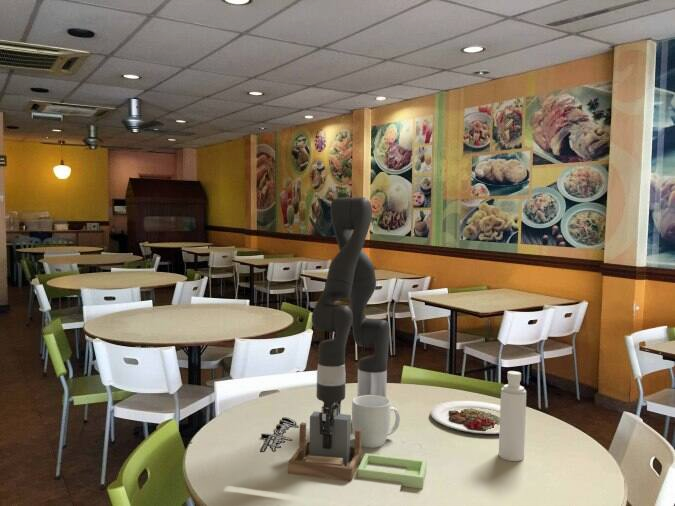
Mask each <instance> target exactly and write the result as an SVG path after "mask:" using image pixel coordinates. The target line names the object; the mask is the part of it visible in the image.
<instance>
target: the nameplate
mask: <svg viewBox="0 0 675 506" xmlns="http://www.w3.org/2000/svg"><path fill="white" fill-rule="evenodd" d="M290 428H293V429H294V428H295V429H300V426H298V425H297V422H296V421H295V420H294V419H292V418H289V417H284V416H283V417H281V419H279V424H277V425H276V426H275V430H273V433H272V434H271V433H261V434H260V435H261V437H260V438H261V439H264V438H267V439H265V440H264V443H263V445H262V446H261V448H260V450H259V452H260V453H265V452H266V450H267V448H268V447H269V449H271V451H272V452H273V453H274V452H277V450H276V449H280V448H282V446H281V445H280V444H281V443H283V444H284V443H286V441H290V442H292V441H293V439H291V438H290V437H287V436H284V434H285V433H287V430H289V429H290ZM278 429H279V430H278ZM271 441H272V442H271ZM270 442H271V443H270Z"/></svg>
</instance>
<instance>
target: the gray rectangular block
mask: <svg viewBox="0 0 675 506" xmlns="http://www.w3.org/2000/svg"><path fill="white" fill-rule="evenodd" d="M320 413H322V412H321V411H315V410H314V411H313V412H312V413H311V415H309V441H310V445H309V455H310V456H323V457H336V458H343V464H344V466H347V464H348V462H349V460H350V446H351V428H352V427H351V426H352V414H345V413H344V414H343V413H340V414H336V417H335V425H334V426H333V428H332V447H331V449H324V448H323V435H322V434H320V422H319V414H320ZM330 422H332V420H331V421H330ZM325 430H327V427H325Z"/></svg>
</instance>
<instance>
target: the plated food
mask: <svg viewBox="0 0 675 506" xmlns="http://www.w3.org/2000/svg"><path fill="white" fill-rule="evenodd" d="M457 408H467V409H464V410H461V409H460V411H459V410H458V411H456V410H454V409H457ZM469 408H470V409H469ZM474 408H480V409H488V410H493V411H496V412H499V413H500V404H496V403H490V402H485V401H475V400H452V401H447V402H442V403H439V404H436V405H434V406H433V407H432V408H431V410H430V416H431V417H432V419H434V421H436V422H438V423H439V424H441V425H444V426H445V427H448V428H451V429H455V430H457V431H463V432H467V433H473V434H487V435H490V434H491V435H493V434H494V435H498V434H499V431H498V430H497V431H494V432H485V431H486V430H488V429H491V428H494V425H495V424H497V425H500V417H498V416H496V415H494V414H491V413H489V412H487V413H486V412H485V411H480V410H476V409H474Z"/></svg>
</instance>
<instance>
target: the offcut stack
mask: <svg viewBox="0 0 675 506" xmlns="http://www.w3.org/2000/svg"><path fill="white" fill-rule="evenodd" d="M305 462H313V463H321V464H329V465H337V466H344V464H343V458H336V457H323V456H310V455H308V457H307V459H306V461H305Z"/></svg>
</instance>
